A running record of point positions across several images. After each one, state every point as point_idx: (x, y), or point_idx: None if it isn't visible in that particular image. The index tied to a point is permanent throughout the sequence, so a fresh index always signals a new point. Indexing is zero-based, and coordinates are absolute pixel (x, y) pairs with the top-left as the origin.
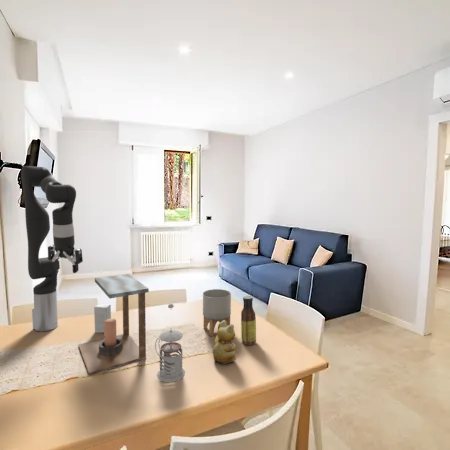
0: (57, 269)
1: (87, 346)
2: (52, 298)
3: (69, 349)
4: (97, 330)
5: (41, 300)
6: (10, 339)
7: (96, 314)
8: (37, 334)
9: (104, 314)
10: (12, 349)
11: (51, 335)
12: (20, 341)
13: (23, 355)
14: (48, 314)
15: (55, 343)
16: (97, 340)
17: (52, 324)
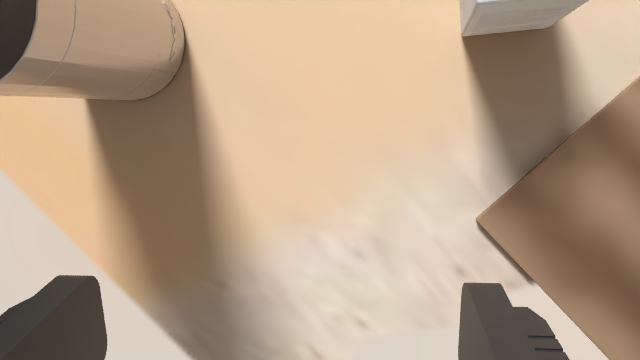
0: (99, 325)
1: (542, 232)
2: (70, 22)
3: (446, 254)
4: (482, 33)
5: (26, 88)
6: (70, 207)
7: (491, 15)
8: (151, 130)
9: (564, 7)
10: (168, 296)
11: (233, 126)
12: (135, 218)
13: (264, 339)
14: (125, 68)
15: (325, 207)
16: (559, 154)
17: (170, 54)
